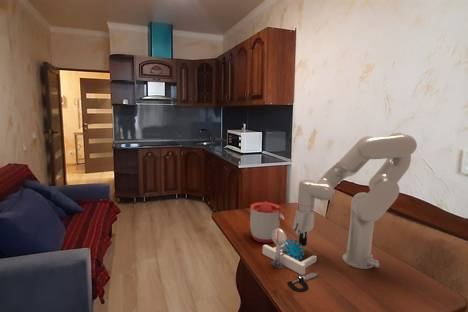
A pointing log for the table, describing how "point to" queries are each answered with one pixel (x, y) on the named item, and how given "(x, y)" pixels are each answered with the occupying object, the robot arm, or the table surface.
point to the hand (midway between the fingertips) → (302, 244)
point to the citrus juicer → (264, 220)
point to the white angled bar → (289, 259)
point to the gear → (294, 249)
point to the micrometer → (302, 282)
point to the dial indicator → (278, 246)
